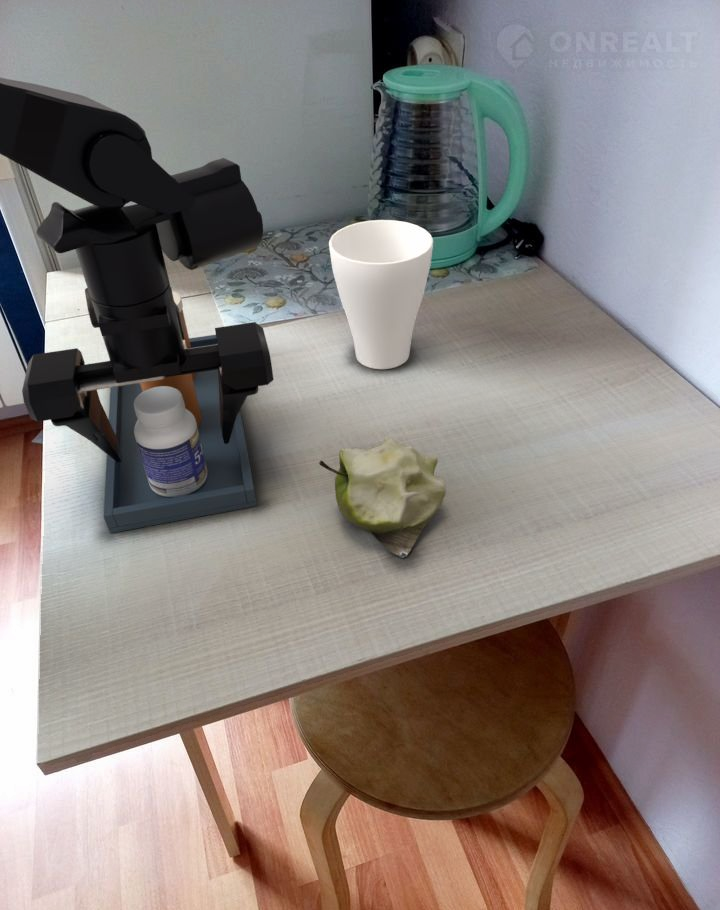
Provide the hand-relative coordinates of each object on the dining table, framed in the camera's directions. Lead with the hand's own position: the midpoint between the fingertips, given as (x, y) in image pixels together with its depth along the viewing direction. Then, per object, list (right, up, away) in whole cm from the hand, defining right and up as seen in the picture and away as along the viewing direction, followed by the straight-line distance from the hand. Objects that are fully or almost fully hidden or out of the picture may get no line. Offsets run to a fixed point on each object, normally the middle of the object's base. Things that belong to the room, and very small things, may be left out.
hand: (173, 449), depth 62 cm
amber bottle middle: (-2, +3, +8) cm, 9 cm away
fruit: (+19, -6, -1) cm, 19 cm away
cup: (+19, +11, +18) cm, 28 cm away
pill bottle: (0, -3, +2) cm, 4 cm away
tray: (-2, +2, +9) cm, 9 cm away
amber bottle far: (-4, +8, +15) cm, 17 cm away
